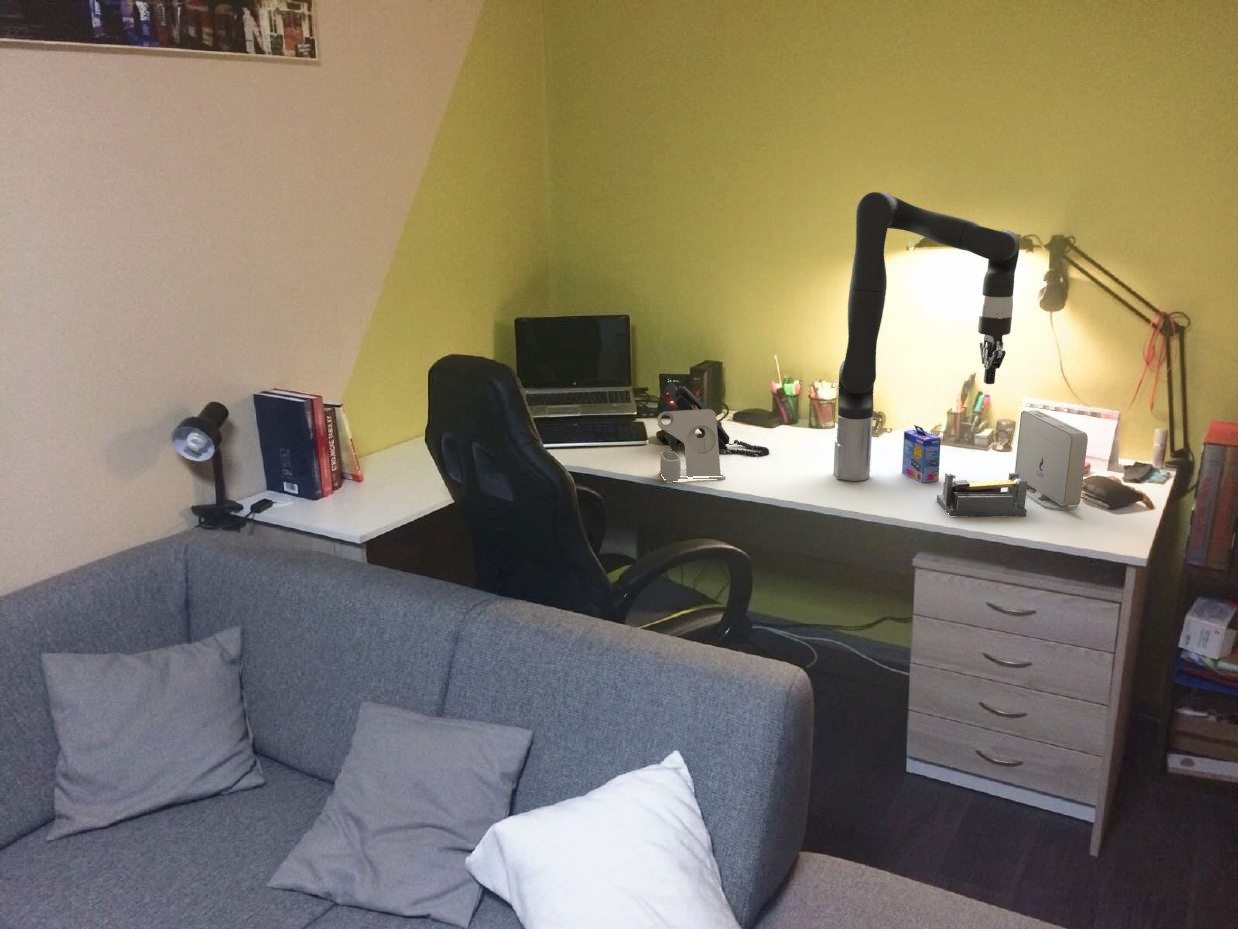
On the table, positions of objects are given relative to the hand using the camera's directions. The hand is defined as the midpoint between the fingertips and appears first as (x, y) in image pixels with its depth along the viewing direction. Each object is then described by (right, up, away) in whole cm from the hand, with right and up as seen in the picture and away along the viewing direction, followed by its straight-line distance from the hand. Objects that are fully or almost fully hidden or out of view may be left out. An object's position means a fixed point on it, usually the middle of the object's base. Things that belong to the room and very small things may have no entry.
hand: (989, 383), depth 243 cm
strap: (-2, -26, -5) cm, 27 cm away
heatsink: (-3, -31, -3) cm, 31 cm away
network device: (+16, -29, +4) cm, 33 cm away
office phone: (-63, -15, +57) cm, 86 cm away
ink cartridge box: (-11, -24, +22) cm, 34 cm away
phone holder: (-72, -24, +27) cm, 81 cm away
